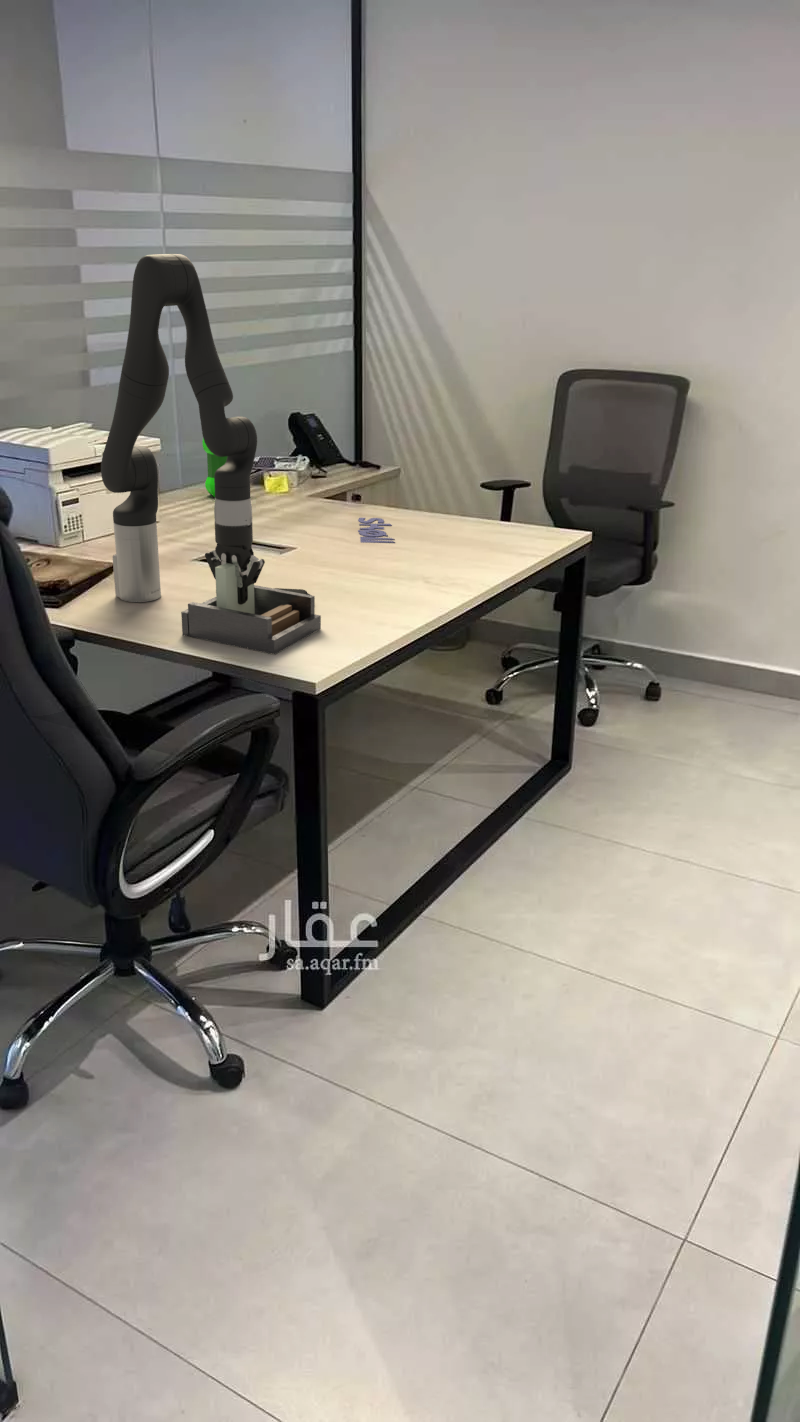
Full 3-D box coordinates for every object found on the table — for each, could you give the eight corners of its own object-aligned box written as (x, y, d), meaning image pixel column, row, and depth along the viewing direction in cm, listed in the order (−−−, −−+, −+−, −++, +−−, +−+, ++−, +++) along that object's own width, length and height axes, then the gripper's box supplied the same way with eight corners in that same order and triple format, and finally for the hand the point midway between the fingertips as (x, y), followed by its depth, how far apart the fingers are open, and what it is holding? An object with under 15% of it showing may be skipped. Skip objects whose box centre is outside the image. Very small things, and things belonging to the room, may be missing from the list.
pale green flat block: (217, 633, 220) (215, 567, 214) (245, 619, 228) (243, 556, 223) (227, 635, 219) (225, 569, 213) (254, 621, 227) (253, 557, 222)
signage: (357, 517, 318) (390, 517, 319) (357, 519, 318) (390, 520, 319) (358, 541, 292) (395, 541, 293) (358, 543, 292) (395, 544, 293)
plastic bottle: (216, 500, 334) (213, 418, 324) (198, 494, 341) (195, 414, 331) (243, 497, 340) (241, 416, 330) (225, 491, 347) (223, 412, 337)
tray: (182, 635, 219) (180, 602, 216) (232, 611, 234) (231, 580, 231) (274, 654, 210) (274, 620, 208) (320, 628, 225) (320, 597, 222)
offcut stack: (250, 644, 216) (249, 618, 214) (282, 627, 226) (281, 602, 224) (268, 648, 214) (268, 621, 212) (299, 631, 224) (299, 606, 222)
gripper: (193, 518, 214) (197, 601, 221) (252, 528, 209) (254, 612, 216) (215, 511, 220) (218, 592, 227) (272, 520, 215) (274, 603, 222)
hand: (235, 601), depth 221 cm, fingers closed on pale green flat block, 2 cm apart
